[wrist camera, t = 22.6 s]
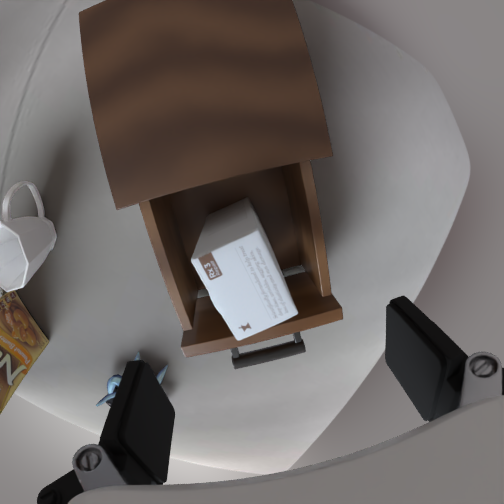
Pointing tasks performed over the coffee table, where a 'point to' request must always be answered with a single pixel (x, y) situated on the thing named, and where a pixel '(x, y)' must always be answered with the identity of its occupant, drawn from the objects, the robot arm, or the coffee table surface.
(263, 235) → the cosmetic box
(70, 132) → the coffee table surface
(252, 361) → the drawer
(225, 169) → the cabinet
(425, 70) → the coffee table surface
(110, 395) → the figurine
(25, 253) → the cup
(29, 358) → the candy box
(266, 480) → the robot arm
